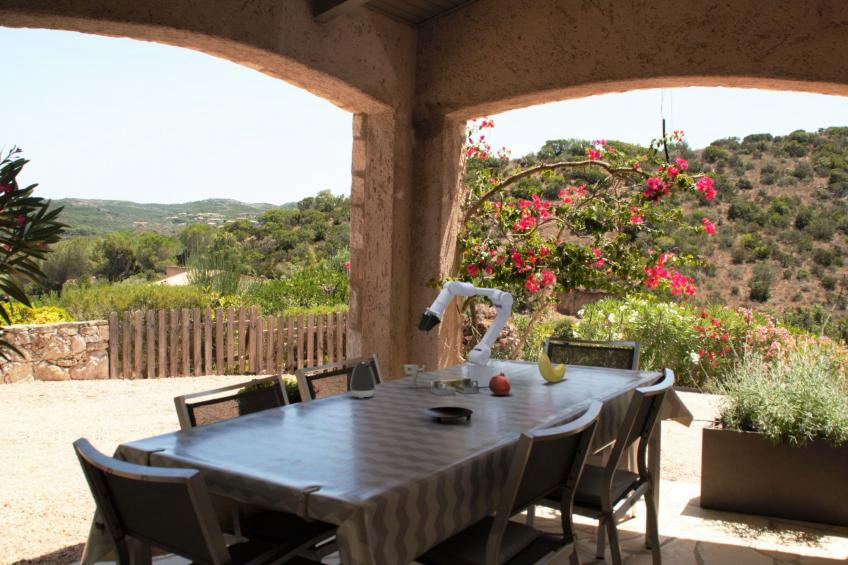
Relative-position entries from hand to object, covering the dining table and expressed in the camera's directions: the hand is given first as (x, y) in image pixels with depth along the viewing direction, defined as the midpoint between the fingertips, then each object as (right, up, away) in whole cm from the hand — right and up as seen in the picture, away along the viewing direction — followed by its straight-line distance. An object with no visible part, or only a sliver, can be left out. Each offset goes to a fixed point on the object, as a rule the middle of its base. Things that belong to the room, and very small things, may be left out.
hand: (422, 330), depth 307 cm
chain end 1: (+9, -26, -7) cm, 28 cm away
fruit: (+32, -26, -11) cm, 43 cm away
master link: (+11, -26, +3) cm, 28 cm away
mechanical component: (-4, -26, +7) cm, 27 cm away
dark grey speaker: (-24, -27, -14) cm, 39 cm away
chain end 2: (+19, -26, -3) cm, 32 cm away
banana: (+59, -25, +19) cm, 67 cm away
